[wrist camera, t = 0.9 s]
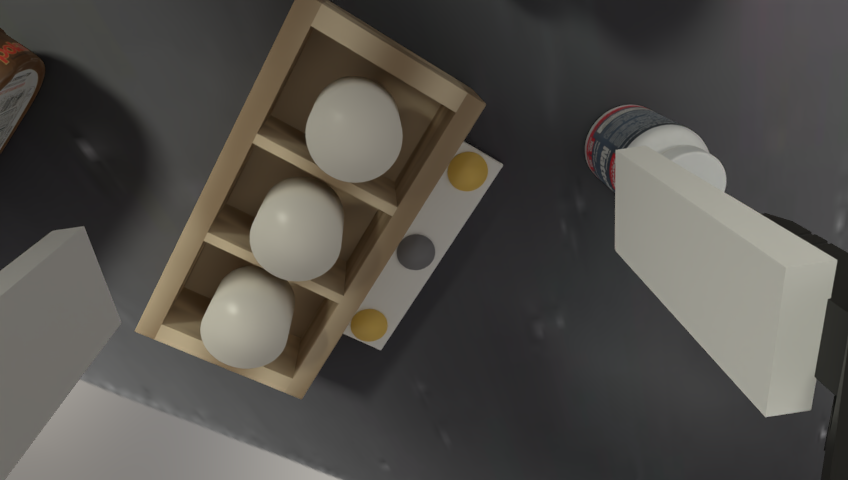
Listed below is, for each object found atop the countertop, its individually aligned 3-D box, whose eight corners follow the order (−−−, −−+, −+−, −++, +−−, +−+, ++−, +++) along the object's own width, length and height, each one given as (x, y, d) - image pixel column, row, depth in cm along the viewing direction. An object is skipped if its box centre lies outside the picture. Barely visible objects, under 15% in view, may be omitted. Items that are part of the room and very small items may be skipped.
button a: (204, 313, 37) (186, 348, 34) (236, 252, 36) (221, 282, 32) (274, 344, 38) (265, 380, 35) (308, 286, 37) (302, 318, 33)
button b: (247, 229, 35) (234, 257, 32) (283, 161, 34) (273, 182, 30) (321, 264, 36) (316, 295, 33) (358, 200, 35) (357, 225, 31)
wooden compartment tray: (161, 291, 40) (134, 331, 36) (309, -12, 33) (299, -11, 29) (308, 354, 43) (301, 399, 39) (471, 88, 36) (486, 104, 32)
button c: (297, 135, 33) (288, 154, 30) (337, 58, 32) (333, 68, 28) (372, 176, 34) (373, 198, 31) (414, 104, 33) (420, 119, 29)
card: (336, 327, 42) (336, 331, 42) (455, 136, 38) (456, 138, 37) (380, 347, 43) (380, 351, 43) (502, 163, 38) (503, 165, 38)
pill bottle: (569, 131, 38) (623, 172, 30) (643, 87, 37) (719, 117, 29) (602, 197, 40) (661, 252, 32) (673, 156, 39) (751, 202, 31)
